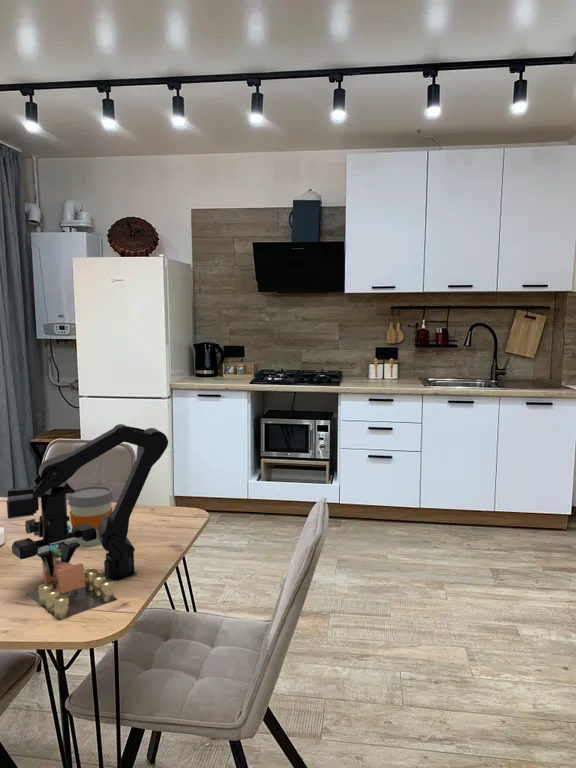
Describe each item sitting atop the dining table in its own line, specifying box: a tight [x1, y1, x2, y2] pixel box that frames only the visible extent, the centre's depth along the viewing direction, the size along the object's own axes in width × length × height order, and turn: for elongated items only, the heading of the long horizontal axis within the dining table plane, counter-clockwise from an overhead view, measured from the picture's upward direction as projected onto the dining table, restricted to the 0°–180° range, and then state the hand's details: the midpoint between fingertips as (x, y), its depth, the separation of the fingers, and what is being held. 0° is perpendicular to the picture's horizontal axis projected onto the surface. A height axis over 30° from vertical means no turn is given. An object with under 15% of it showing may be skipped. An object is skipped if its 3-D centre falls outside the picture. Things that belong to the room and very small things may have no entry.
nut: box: [56, 583, 77, 596], centre depth 140 cm, size 4×5×2 cm
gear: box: [49, 524, 72, 557], centre depth 165 cm, size 11×6×10 cm
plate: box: [25, 568, 118, 622], centre depth 138 cm, size 14×18×5 cm
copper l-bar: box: [41, 557, 86, 594], centre depth 142 cm, size 6×14×5 cm, turn 45°
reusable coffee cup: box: [67, 485, 114, 548], centre depth 174 cm, size 13×13×15 cm
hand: (57, 574), depth 143 cm, fingers closed on copper l-bar, 3 cm apart
